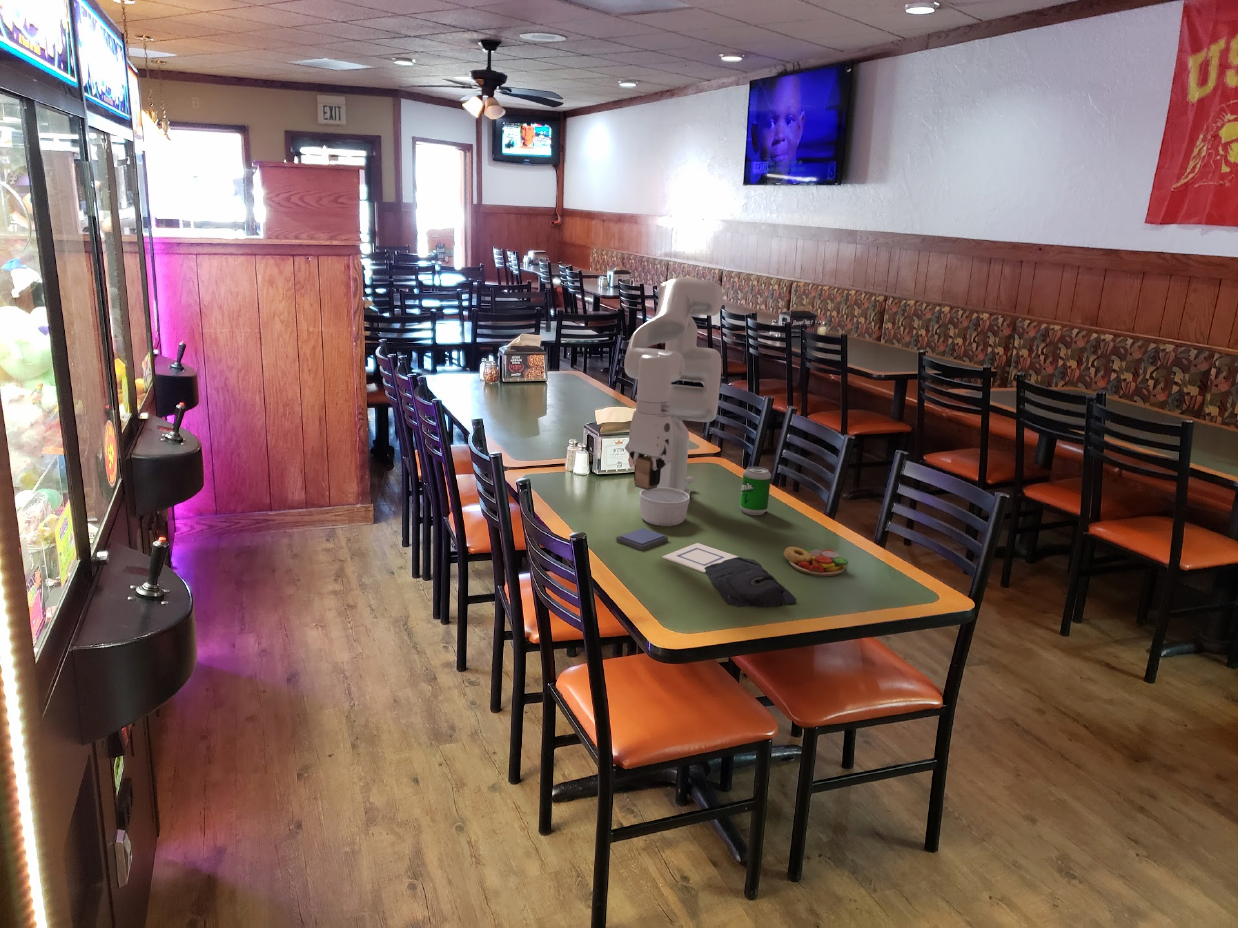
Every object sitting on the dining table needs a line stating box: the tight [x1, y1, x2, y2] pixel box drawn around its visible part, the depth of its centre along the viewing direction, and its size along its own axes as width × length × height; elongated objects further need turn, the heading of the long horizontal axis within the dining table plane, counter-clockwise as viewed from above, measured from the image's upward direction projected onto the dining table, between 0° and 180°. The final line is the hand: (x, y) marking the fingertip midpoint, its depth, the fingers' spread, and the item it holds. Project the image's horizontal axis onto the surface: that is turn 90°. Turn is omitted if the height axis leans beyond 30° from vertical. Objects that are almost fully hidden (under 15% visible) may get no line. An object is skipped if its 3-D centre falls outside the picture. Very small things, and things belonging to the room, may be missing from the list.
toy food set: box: [783, 546, 849, 577], centre depth 206 cm, size 13×13×3 cm
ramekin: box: [638, 487, 691, 527], centre depth 231 cm, size 13×13×7 cm
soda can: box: [739, 466, 772, 516], centre depth 242 cm, size 8×8×12 cm
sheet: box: [661, 542, 739, 574], centre depth 207 cm, size 14×12×1 cm
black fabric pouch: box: [704, 556, 797, 608], centre depth 192 cm, size 15×22×5 cm
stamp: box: [634, 455, 658, 490], centre depth 211 cm, size 4×4×7 cm
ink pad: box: [615, 527, 669, 551], centre depth 215 cm, size 10×8×1 cm
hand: (646, 481), depth 211 cm, fingers closed on stamp, 4 cm apart
